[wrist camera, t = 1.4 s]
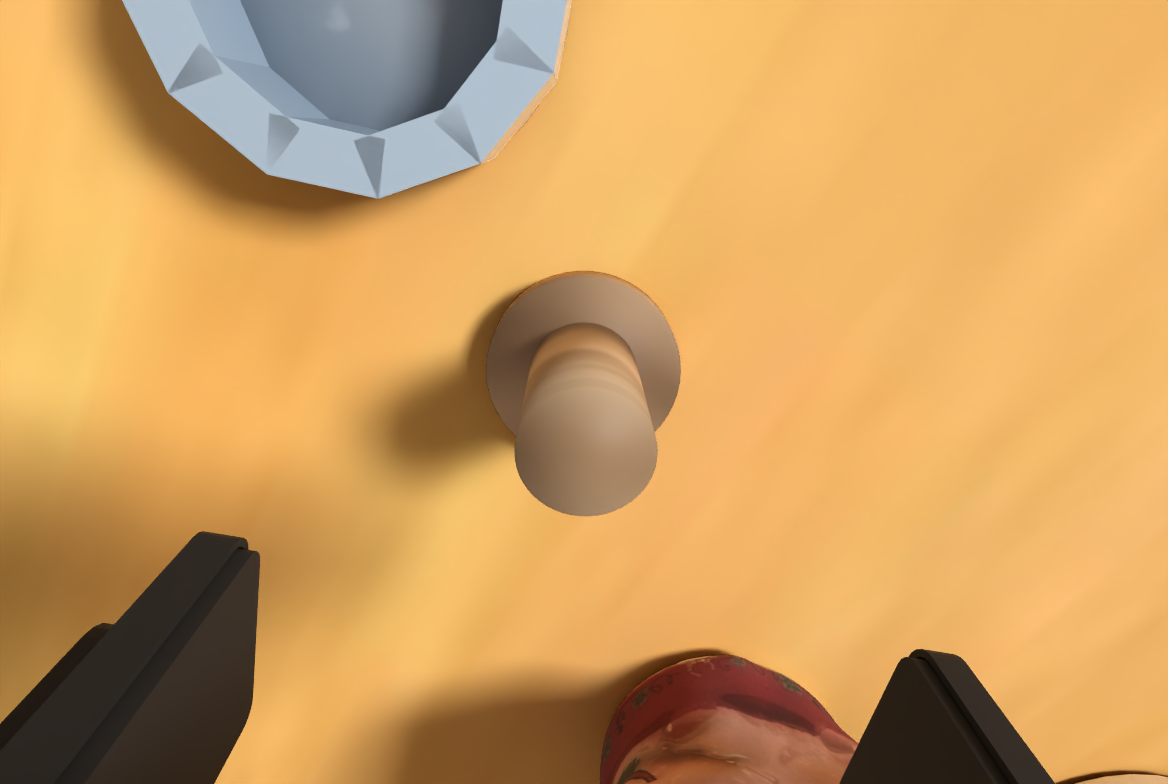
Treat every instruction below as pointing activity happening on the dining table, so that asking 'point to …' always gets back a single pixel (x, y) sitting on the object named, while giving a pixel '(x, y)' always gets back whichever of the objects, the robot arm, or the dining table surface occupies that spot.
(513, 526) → the dining table surface
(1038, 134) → the dining table surface
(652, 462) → the lid
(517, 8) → the blue faceted bowl
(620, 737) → the sculpted mug
